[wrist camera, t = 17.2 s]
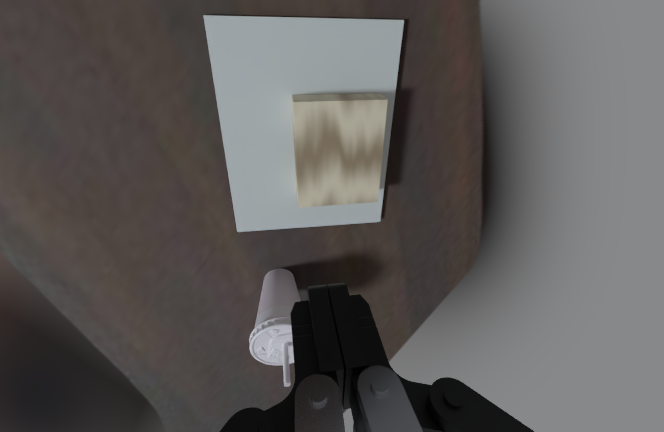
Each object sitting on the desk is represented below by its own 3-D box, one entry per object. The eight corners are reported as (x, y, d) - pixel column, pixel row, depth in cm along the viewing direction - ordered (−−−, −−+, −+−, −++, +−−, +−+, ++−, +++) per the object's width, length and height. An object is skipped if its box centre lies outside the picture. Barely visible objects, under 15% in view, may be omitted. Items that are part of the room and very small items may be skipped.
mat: (204, 15, 26) (203, 15, 25) (401, 19, 28) (404, 20, 27) (237, 228, 36) (237, 232, 36) (378, 219, 38) (380, 221, 38)
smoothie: (315, 272, 41) (333, 377, 30) (285, 304, 43) (292, 414, 32) (271, 251, 38) (273, 357, 27) (242, 287, 41) (232, 399, 29)
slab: (293, 102, 27) (387, 99, 28) (291, 95, 29) (379, 93, 30) (298, 207, 32) (377, 201, 33) (296, 194, 34) (370, 189, 36)
